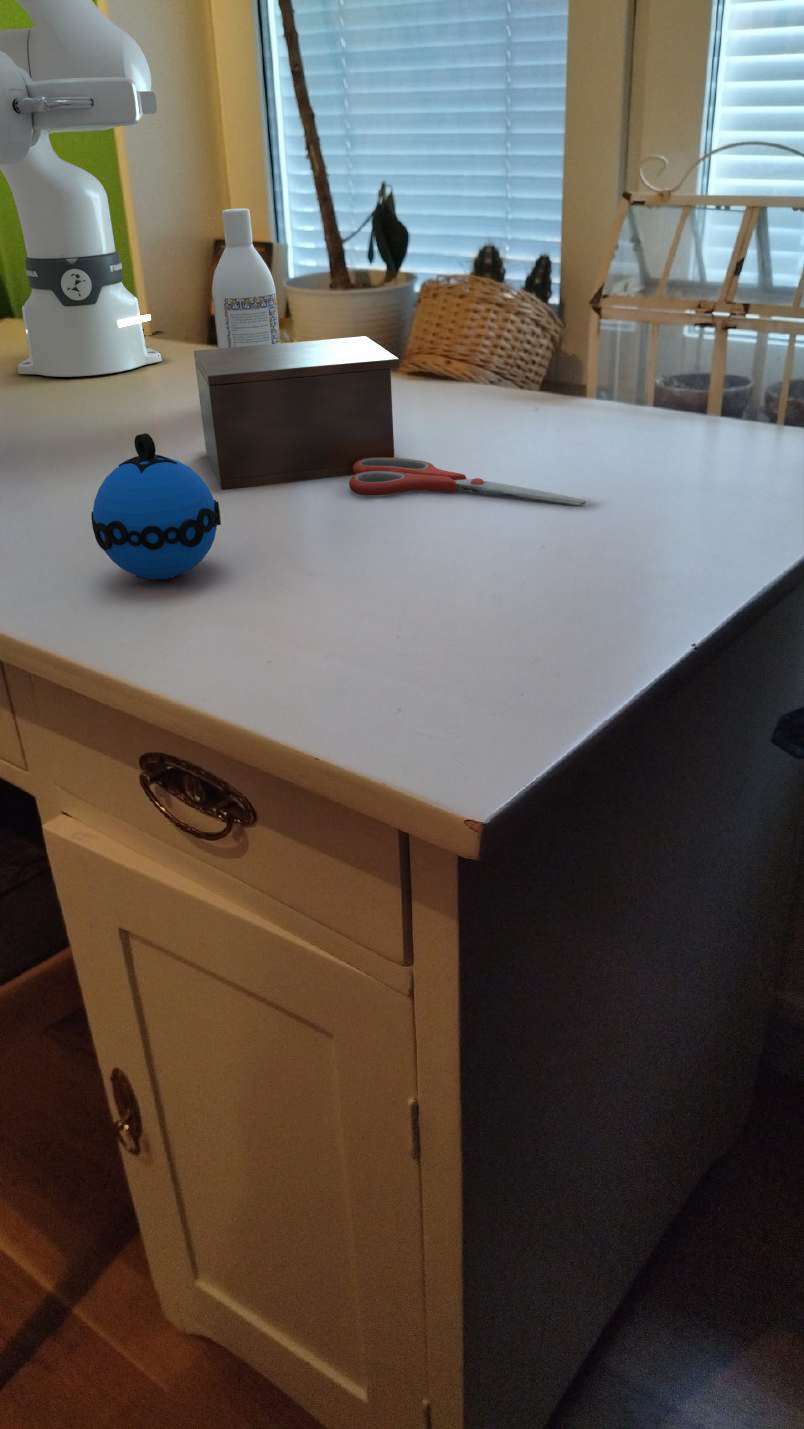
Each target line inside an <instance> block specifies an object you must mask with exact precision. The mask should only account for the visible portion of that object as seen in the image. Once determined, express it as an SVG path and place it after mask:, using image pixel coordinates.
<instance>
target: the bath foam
mask: <svg viewBox="0 0 804 1429" xmlns="http://www.w3.org/2000/svg"><path fill="white" fill-rule="evenodd" d="M221 215H222V216H221V217H222V225H223V226H222V227H223V235H224V242H225V248H224V250H223V252H222V253H221V256H220V258H219V261H218V263H217V265H216V268H215V270H214V274H213V277H212V287H211V288H212V289H211V290H212V291H211V292H212V294H211V296H212V306H213V315H214V322H215V331H216V341H217V349H221V348H233V347H244V346H256V345H268V344H280V343H281V335H280V334H281V333H280V323H279V321H280V320H279V312H278V311H279V310H278V300H277V291H276V287H275V282H274V278H273V276H272V274H271V273H272V272H271V270H270V269H269V267H268V265H267V263H266V262H265V261H264V259H263V257H262V256H261V255H260V253H259V251H257V249H256V248H255V247H254V244H253V231H252V222H251V220H252V219H251V212H250V209H249V208H228V209H223V210H222V211H221Z"/></svg>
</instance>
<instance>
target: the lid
mask: <svg viewBox="0 0 804 1429" xmlns="http://www.w3.org/2000/svg"><path fill="white" fill-rule="evenodd" d="M193 358H194V362H195V361H196V362H197V364H198V366H199V368H200V370H201V372H202V374H203V375H204V377H205V379H206V381H207V383H208V385H220V384H231V383H242V382H253V381H264V380H275V379H286V378H297V377H308V376H319V375H330V374H341V373H352V372H363V371H374V370H384V369H390V370H394V369H400V359H399V358H398V356H396V355H394V354H392V353H391V352H389V350H386V348H384V347H382V346H381V345H380V344H378V343H376V342H375V341H373V339H370V338H369V337H368V336H365V335H364V336H363V335H362V336H353V337H342V338H339V337H338V338H329V339H317V340H305V341H295V342H294V341H293V342H280V344H268V345H256V346H244V347H233V348H221V349H218V348H212V349H211V348H210V349H199V350H197V349H196V350H193Z"/></svg>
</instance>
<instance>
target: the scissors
mask: <svg viewBox="0 0 804 1429" xmlns="http://www.w3.org/2000/svg"><path fill="white" fill-rule="evenodd" d="M353 472H354V474H355V475H351V477H350V479H349V481H348V485H349V489H350V491H352V492H353V493H354V494H356V495H360V496H366V497H368V496H371V497H372V496H374V497H375V496H386V495H394V494H399V493H405V492H413V491H417V492H418V491H421V492H422V491H423V492H438V493H439V492H440V493H455V492H456V491H457V488H460V489H462V490H464V491H469V492H472V493H477V494H479V493H481V494H488V495H495V496H503V497H512V498H517V499H524V500H525V499H526V500H532V501H540V502H548V503H553V504H561V505H568V506H583V505H585V504H586V503H587V501H586V500H584V499H579V498H576V497H573V496H567V495H564V494H558V493H553V492H548V491H543V490H540V489H534V488H528V487H524V486H523V487H522V486H517V485H512V484H506V483H499V482H493V481H487V480H484V479H482V478H479V477H475V478H467V476H466V475H465V474H464V473H461V472H455V471H449V470H443V469H441V468H437V467H436V466H435V465H434V464H432V463H430V462H428V461H425V460H421V459H420V460H419V459H413V458H404V457H394V458H393V457H372V458H365V459H361V460H359V461H357V462H356V463H355V464H354V466H353Z"/></svg>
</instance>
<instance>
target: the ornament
mask: <svg viewBox="0 0 804 1429" xmlns="http://www.w3.org/2000/svg"><path fill="white" fill-rule="evenodd" d="M133 442H134V443H133V444H134V450H135V452H136V453H137V455H136V456H134V457H131V458H129V459H126V460H124V461H123V462H121V463H119V464H118V466H117V467H115V468H114V469H113V470H112V471H111V472H110V473H109V474H108V475H107V476H106V477H105V478H104V480H103V482H102V483H101V484H100V486H99V487H98V490H97V493H96V495H95V498H94V500H93V508H92V511H91V514H90V515H91V516H90V517H91V526H92V531H93V534H94V538H95V541H96V543H97V545H98V546H99V548H101V549H102V550H103V552H104V553H105V555H107V556H108V558H109V559H110V560H111V561H112V562H113V563H114V564H115V565H117V566H118V567H119V569H122V570H123V571H125V572H127V573H129V574H131V575H133V576H135V577H137V578H141V579H145V580H156V581H166V580H170V579H173V578H179V577H182V576H183V575H184V574H186V573H187V572H189V571H192V570H193V569H194V568H195V567H196V566H198V564H200V563H201V562H202V561H203V560H204V559H205V557H206V556H207V554H208V553H209V552H210V550H211V548H212V546H213V543H214V542H215V539H216V533H217V529H218V526H221V525H222V520H221V512H220V511H221V510H220V504H219V501H217V500H216V499H214V496H213V494H212V492H211V490H210V488H209V486H208V485H207V483H206V482H205V480H203V478H202V476H200V475H199V474H198V473H197V472H195V470H194V469H192V468H191V467H190V466H188V465H186V464H185V463H183V462H182V461H179V460H176V459H173V458H170V457H167V456H165V455H160V454H157V453H156V452H157V450H156V445H155V441H154V439H153V437H152V436H151V435H150V434H149V433H146V432H145V433H139V434H136V435H135V437H134V441H133Z"/></svg>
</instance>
